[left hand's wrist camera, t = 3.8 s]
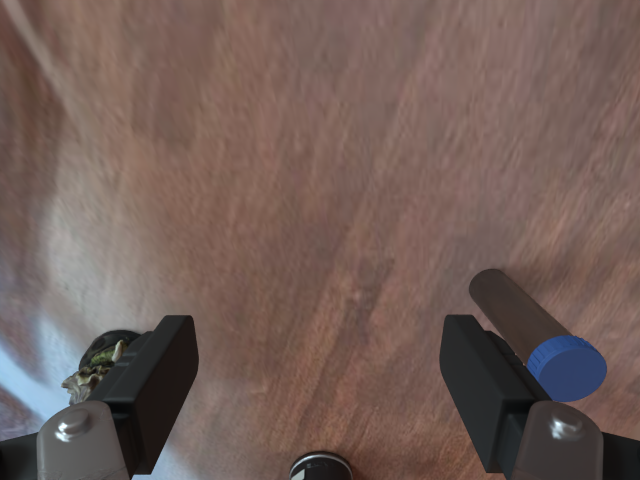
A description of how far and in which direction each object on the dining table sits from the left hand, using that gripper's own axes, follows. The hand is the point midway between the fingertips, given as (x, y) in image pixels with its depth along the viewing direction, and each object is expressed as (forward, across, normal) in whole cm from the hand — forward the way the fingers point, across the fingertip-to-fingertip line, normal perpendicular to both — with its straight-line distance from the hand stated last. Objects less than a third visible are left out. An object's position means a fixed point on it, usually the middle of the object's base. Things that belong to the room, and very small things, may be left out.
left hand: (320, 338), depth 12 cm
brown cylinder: (+29, +20, -14) cm, 38 cm away
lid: (+14, +20, -14) cm, 28 cm away
